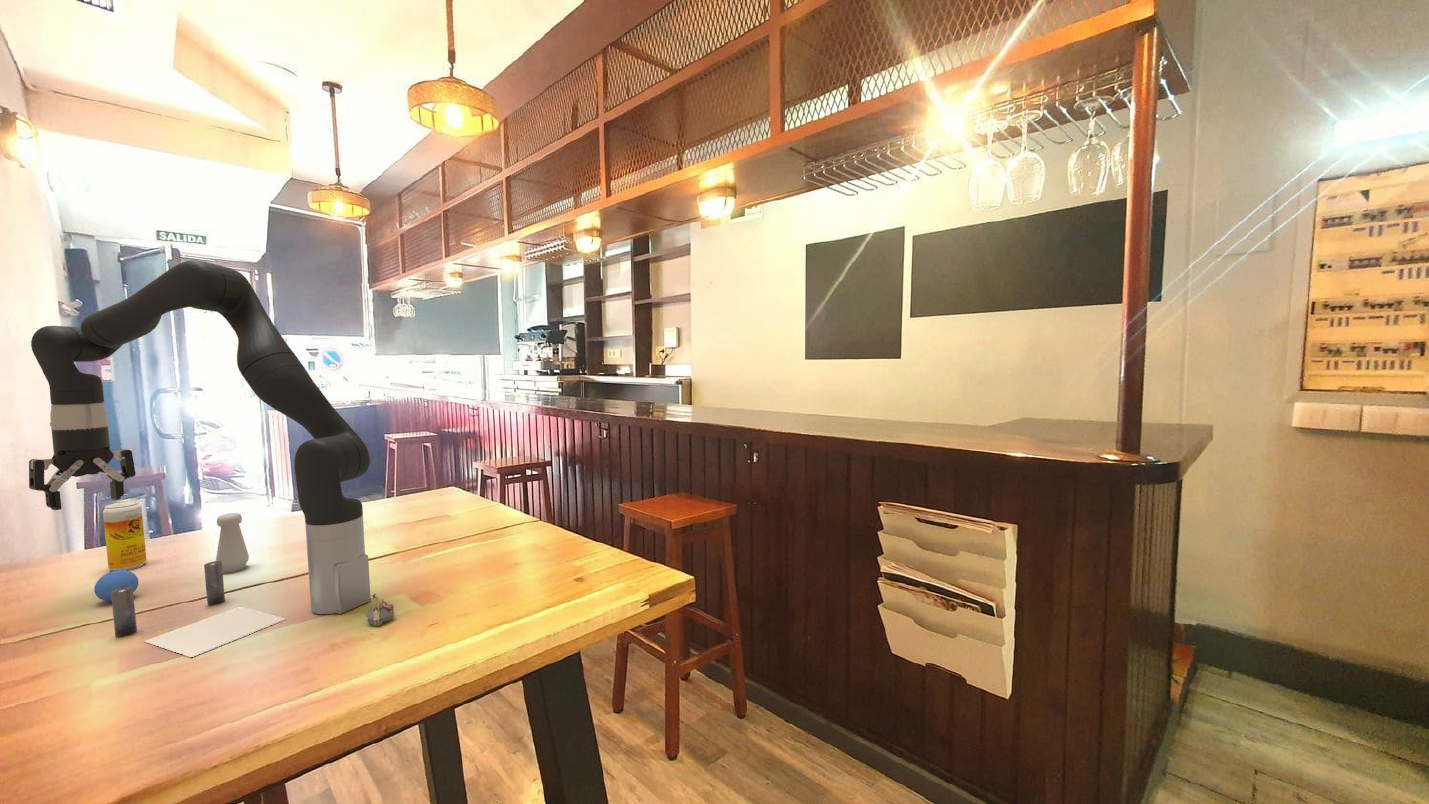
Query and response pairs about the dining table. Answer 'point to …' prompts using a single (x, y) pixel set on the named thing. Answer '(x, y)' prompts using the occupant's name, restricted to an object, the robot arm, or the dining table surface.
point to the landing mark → (214, 631)
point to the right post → (214, 582)
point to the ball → (114, 583)
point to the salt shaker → (231, 543)
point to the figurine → (380, 612)
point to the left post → (123, 611)
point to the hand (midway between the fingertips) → (87, 504)
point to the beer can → (124, 535)
